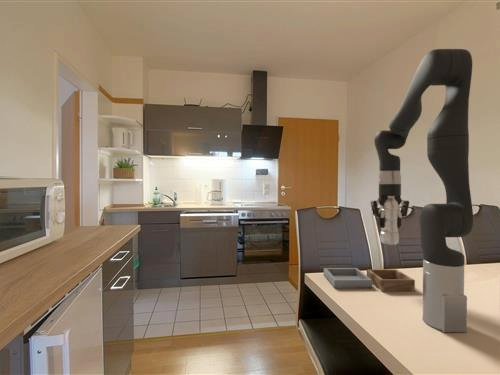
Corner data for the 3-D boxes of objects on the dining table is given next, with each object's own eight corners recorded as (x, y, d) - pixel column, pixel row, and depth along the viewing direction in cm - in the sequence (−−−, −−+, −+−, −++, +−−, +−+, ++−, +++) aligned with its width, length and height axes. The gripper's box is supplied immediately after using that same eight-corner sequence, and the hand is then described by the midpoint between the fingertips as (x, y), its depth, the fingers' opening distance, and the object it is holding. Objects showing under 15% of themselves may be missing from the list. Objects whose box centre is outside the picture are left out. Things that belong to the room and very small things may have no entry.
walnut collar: (414, 291, 96) (414, 280, 96) (381, 291, 96) (381, 280, 96) (396, 279, 108) (396, 269, 108) (366, 279, 108) (366, 269, 108)
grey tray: (372, 288, 99) (372, 280, 99) (334, 288, 99) (334, 280, 99) (356, 275, 113) (356, 268, 113) (323, 275, 113) (323, 268, 113)
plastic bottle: (394, 242, 105) (394, 191, 104) (402, 246, 98) (402, 192, 98) (377, 242, 105) (377, 191, 105) (384, 246, 99) (384, 192, 98)
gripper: (375, 183, 98) (375, 229, 98) (414, 183, 98) (414, 229, 98) (366, 183, 105) (366, 226, 105) (402, 183, 105) (402, 226, 105)
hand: (389, 227), depth 102 cm, fingers closed on plastic bottle, 5 cm apart
